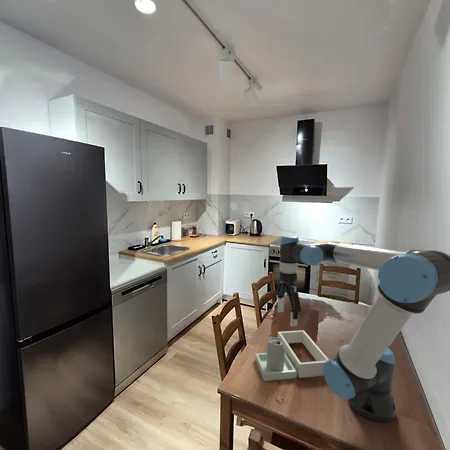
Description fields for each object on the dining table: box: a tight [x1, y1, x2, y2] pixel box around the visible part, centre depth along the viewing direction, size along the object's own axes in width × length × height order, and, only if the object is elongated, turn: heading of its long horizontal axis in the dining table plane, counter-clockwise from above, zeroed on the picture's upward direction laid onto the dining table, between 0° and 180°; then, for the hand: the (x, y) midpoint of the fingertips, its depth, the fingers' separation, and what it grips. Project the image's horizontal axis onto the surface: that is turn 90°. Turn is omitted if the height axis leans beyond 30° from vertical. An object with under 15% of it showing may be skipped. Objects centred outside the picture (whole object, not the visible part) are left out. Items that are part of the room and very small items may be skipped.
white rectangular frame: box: [277, 330, 330, 378], centre depth 122 cm, size 26×14×6 cm, turn 8°
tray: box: [254, 352, 298, 382], centre depth 114 cm, size 14×14×3 cm
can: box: [266, 337, 285, 371], centre depth 113 cm, size 8×8×12 cm
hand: (286, 318), depth 114 cm, fingers open, 13 cm apart
